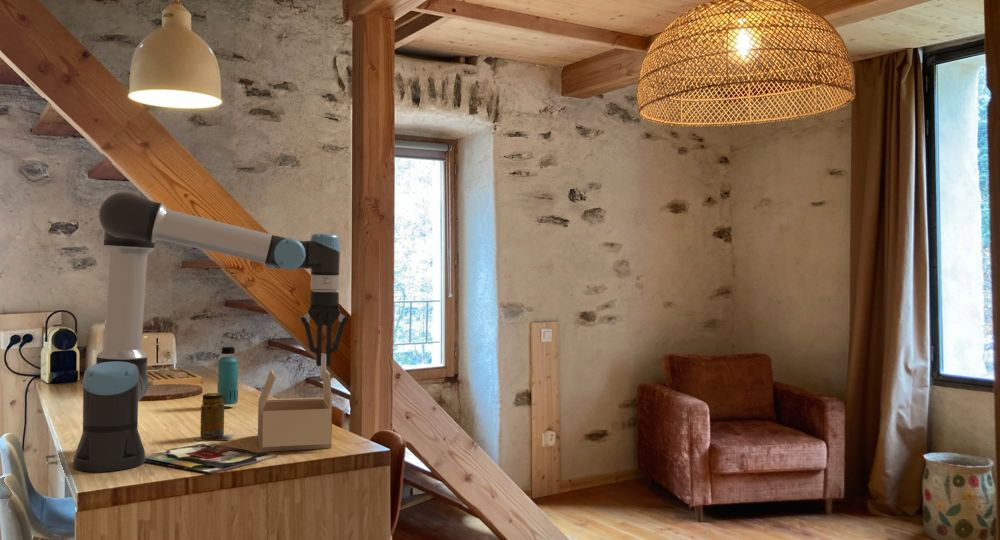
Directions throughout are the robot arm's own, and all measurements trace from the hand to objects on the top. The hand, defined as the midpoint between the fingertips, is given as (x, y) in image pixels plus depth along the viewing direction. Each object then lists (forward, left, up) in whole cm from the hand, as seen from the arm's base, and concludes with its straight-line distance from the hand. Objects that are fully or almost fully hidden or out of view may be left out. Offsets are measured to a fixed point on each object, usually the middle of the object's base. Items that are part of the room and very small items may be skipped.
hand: (322, 377), depth 212 cm
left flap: (-16, 0, -7) cm, 18 cm away
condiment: (-27, +11, -18) cm, 34 cm away
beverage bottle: (-24, +56, -18) cm, 64 cm away
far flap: (-7, +8, -7) cm, 13 cm away
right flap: (+1, 0, -7) cm, 7 cm away
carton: (-7, 0, -17) cm, 19 cm away
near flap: (-7, -8, -7) cm, 13 cm away
